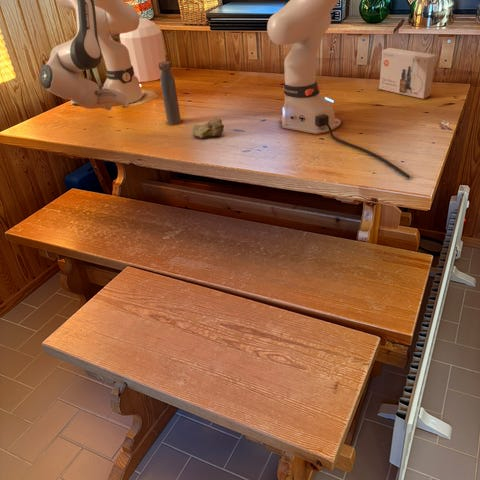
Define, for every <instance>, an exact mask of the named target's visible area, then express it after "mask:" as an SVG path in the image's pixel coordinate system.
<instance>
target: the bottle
mask: <svg viewBox="0 0 480 480" xmlns="http://www.w3.org/2000/svg"><path fill="white" fill-rule="evenodd" d="M161 71H162V72H161V77H160V79H159V84H160V89H161V94H162V101H163V106H164V112H165V118H166V123H167V124H168V125H171V126H173V125H179V124H180V123H182V116H181V110H180V105H179V98H178V91H177V85H176V79H175V77H174V74H173V73H172V72H171V69H168V70H161Z"/></svg>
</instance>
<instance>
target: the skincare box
mask: <svg viewBox="0 0 480 480" xmlns="http://www.w3.org/2000/svg"><path fill="white" fill-rule="evenodd" d="M436 57H437V54H435V53H427V52H423V51H422V52H420V51H413V50H407V49H400V48H395V47H394V48H393V47H387V48H385V49H382V50H381V61H380V74H379V86H378V87H379V88H378V89H379V90H383V91H387V92H391V93H395V94H399V95H405V96H409V97H414V98H418V99H422V100H424V99H426V98H428V97H430V96H431V91H432V86H433V85H432V84H433V78H434V73H435V72H434V71H435V70H434V69H435V64H436Z"/></svg>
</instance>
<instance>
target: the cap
mask: <svg viewBox="0 0 480 480" xmlns="http://www.w3.org/2000/svg"><path fill="white" fill-rule="evenodd" d="M171 68H172V63H171V61H168V60H166V61H165V62H160V63H159V69H160V70H168V69H170V70H171Z"/></svg>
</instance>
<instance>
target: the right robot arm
mask: <svg viewBox="0 0 480 480" xmlns="http://www.w3.org/2000/svg"><path fill="white" fill-rule="evenodd" d="M339 1H340V0H288V2H286V4H284V6H283V7H282V8H280V9H279V10H277V11H276V12H275V13H274V14H272V15H270V17H269V18H268V21H267V23H266V24H267V25H266V31H267V35H268V38H269V39H270V41H271V42H272V43H273V44H274V45H276V46H291V48H290V50H289V52H288V54H287V55H286V57H285V58H284V62H283V67H284V68H283V70H284V82H283V89H282V90H283V94H284V103H283V107H282V116H281V120H280V121H281V128H282V129H288V130H292V131H298V132H303V133H309V134H313V135H314V134H315V135H319V134H324V133H328V132H329V135H330V136H331V138H332V139H333V140H335V141H336V142H338V143H341V144H344V145H346V146H349V147H352V148H354V149H357V150H360V151H362V152H364V153H366V154H369V155H371V156H373V157H375V158H377V159H378V160H380V161H382V162H384V164H386V165H388V166H390V168H393V169H394V170H396V171H397V172H399V173H400V174H402V175H403V176H404V177H406V178H407V179H409V178H410V176H411V175H410V174H408V173H406V172H405V171H404V170H402V169H401V168H399V167H397V166H396V165H394V164H393V163H392V162H390V161H388V160H387V159H385V158H384V157H382V156H380V155H379V154H376V153H374V152H373V151H370V150H368V149H367V148H363V147H361V146H359V145H355V144H353V143H350V142H348V141H346V140H344V139H343V140H342V139H339V138H338V137H335V135H334V134H333V130H335V129H337V128H338V127H339V126H340V125H341V124H342V120H341V119H340V118H337V117H336V116H335V110H334V109H335V108H334V106H333V105H332V104H331V103H334V100H333V99H331V98H329V97H326V96H325V97H324V96H323V95H322V94H321V93H320V90H321V89H322V86H323V85H322V84H320V85H319V84H318V81H317V59H318V54H319V51H320V50H319V49H320V46H321V43H322V40H323V38H324V36H325V34H326V32H327V31H328V30H329V28H330V26H331V24H332V14H331V13H332V12H331V11H332V10H333V9H334V8H335V7H336V6H337V4H338V3H339ZM330 102H331V103H330Z"/></svg>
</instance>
